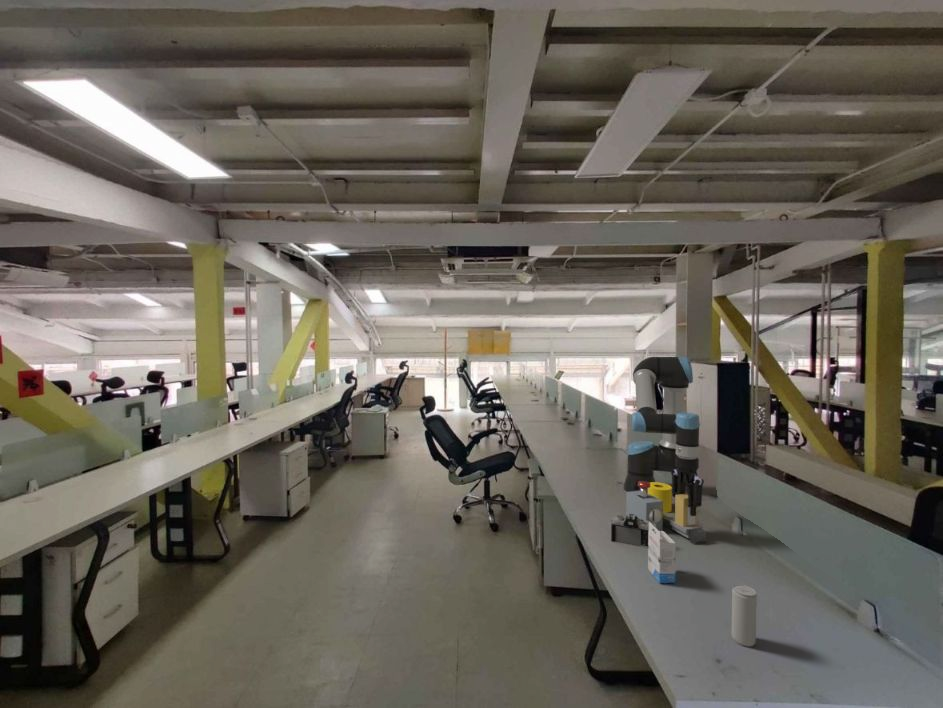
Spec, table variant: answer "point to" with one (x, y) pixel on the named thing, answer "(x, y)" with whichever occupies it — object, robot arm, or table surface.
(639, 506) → the gauge cabinet
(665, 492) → the tape roll
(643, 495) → the plunger
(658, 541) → the ink box
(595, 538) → the table surface
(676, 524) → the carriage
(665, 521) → the rail
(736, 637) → the beverage can
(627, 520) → the camera
